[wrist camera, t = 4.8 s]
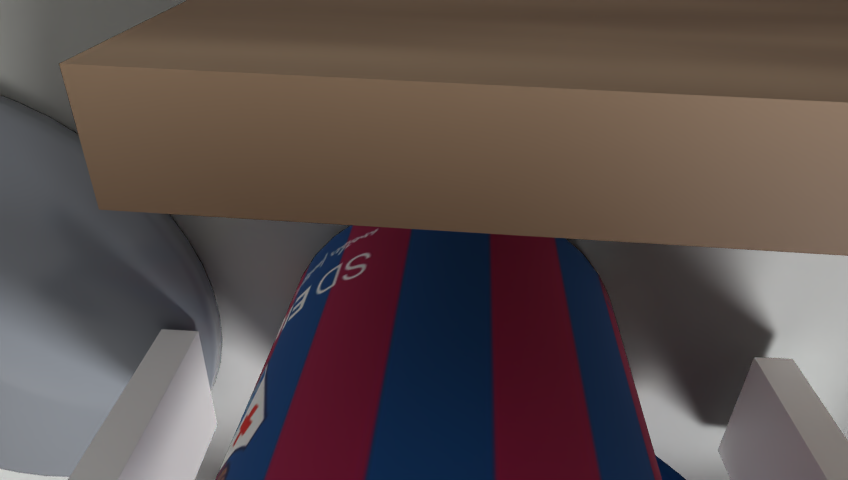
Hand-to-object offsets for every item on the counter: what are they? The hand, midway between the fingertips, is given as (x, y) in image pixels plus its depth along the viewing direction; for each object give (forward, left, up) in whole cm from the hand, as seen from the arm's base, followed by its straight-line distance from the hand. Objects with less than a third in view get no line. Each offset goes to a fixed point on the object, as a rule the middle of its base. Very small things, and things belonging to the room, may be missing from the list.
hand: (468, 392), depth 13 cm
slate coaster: (-1, -10, -1) cm, 10 cm away
